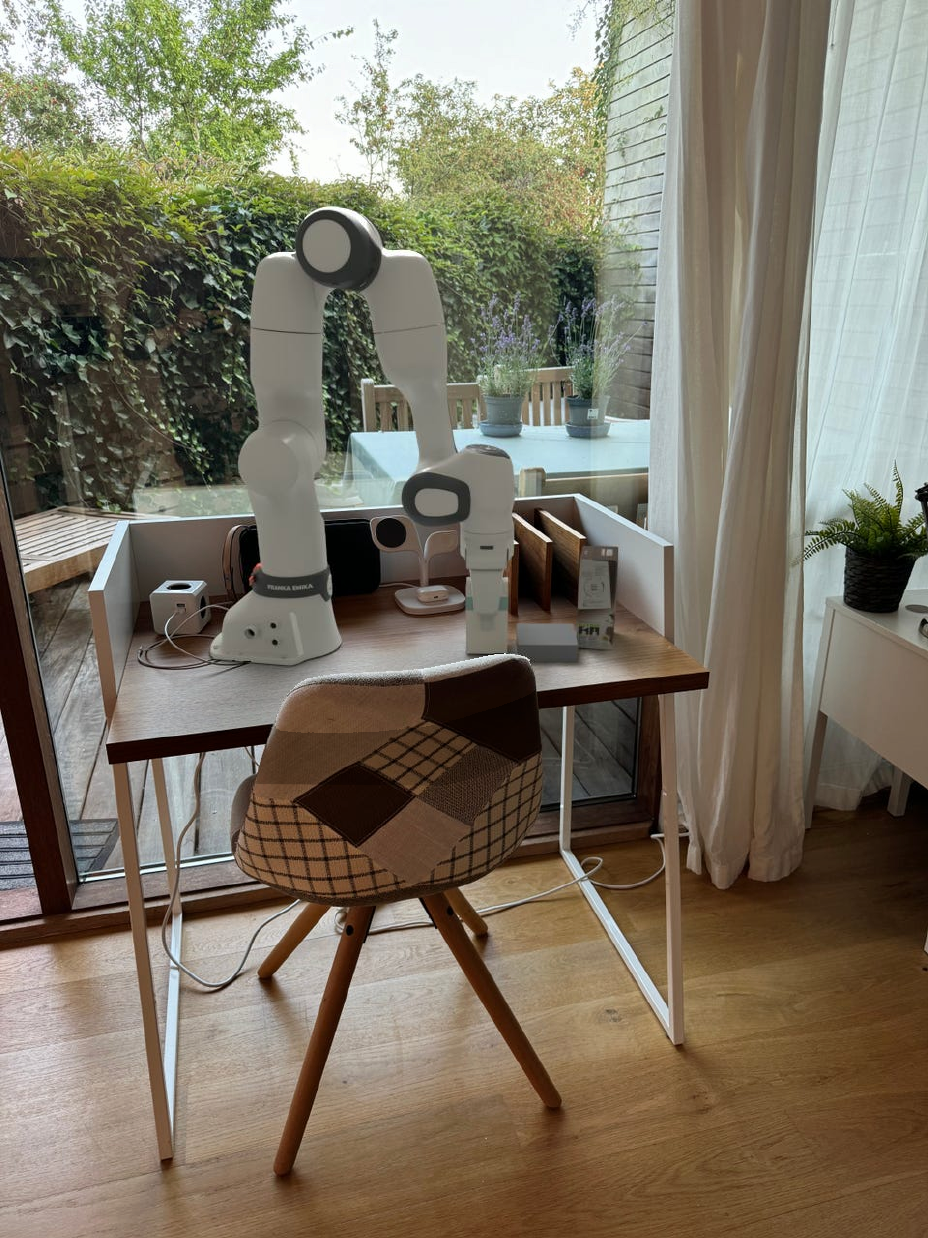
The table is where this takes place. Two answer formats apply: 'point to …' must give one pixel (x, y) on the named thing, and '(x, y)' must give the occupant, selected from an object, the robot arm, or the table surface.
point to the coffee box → (597, 597)
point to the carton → (498, 635)
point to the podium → (547, 642)
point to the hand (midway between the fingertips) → (486, 622)
